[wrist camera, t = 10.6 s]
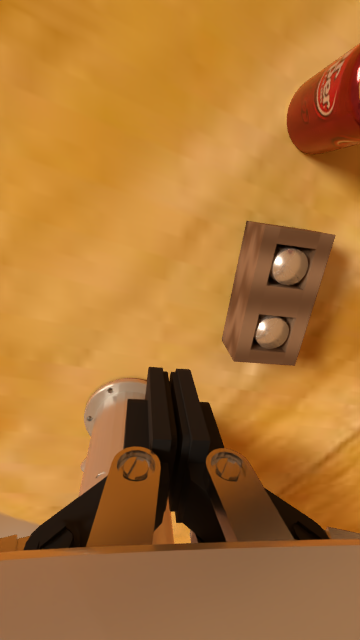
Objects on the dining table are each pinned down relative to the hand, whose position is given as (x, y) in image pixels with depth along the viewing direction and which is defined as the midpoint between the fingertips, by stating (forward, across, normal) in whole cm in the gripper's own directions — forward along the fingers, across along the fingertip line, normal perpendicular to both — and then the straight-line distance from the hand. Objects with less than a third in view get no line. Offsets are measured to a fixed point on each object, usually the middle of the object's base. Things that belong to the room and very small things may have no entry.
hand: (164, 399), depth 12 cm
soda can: (+27, -17, -18) cm, 37 cm away
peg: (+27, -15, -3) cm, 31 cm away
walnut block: (+27, -15, +1) cm, 31 cm away
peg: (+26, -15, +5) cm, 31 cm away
